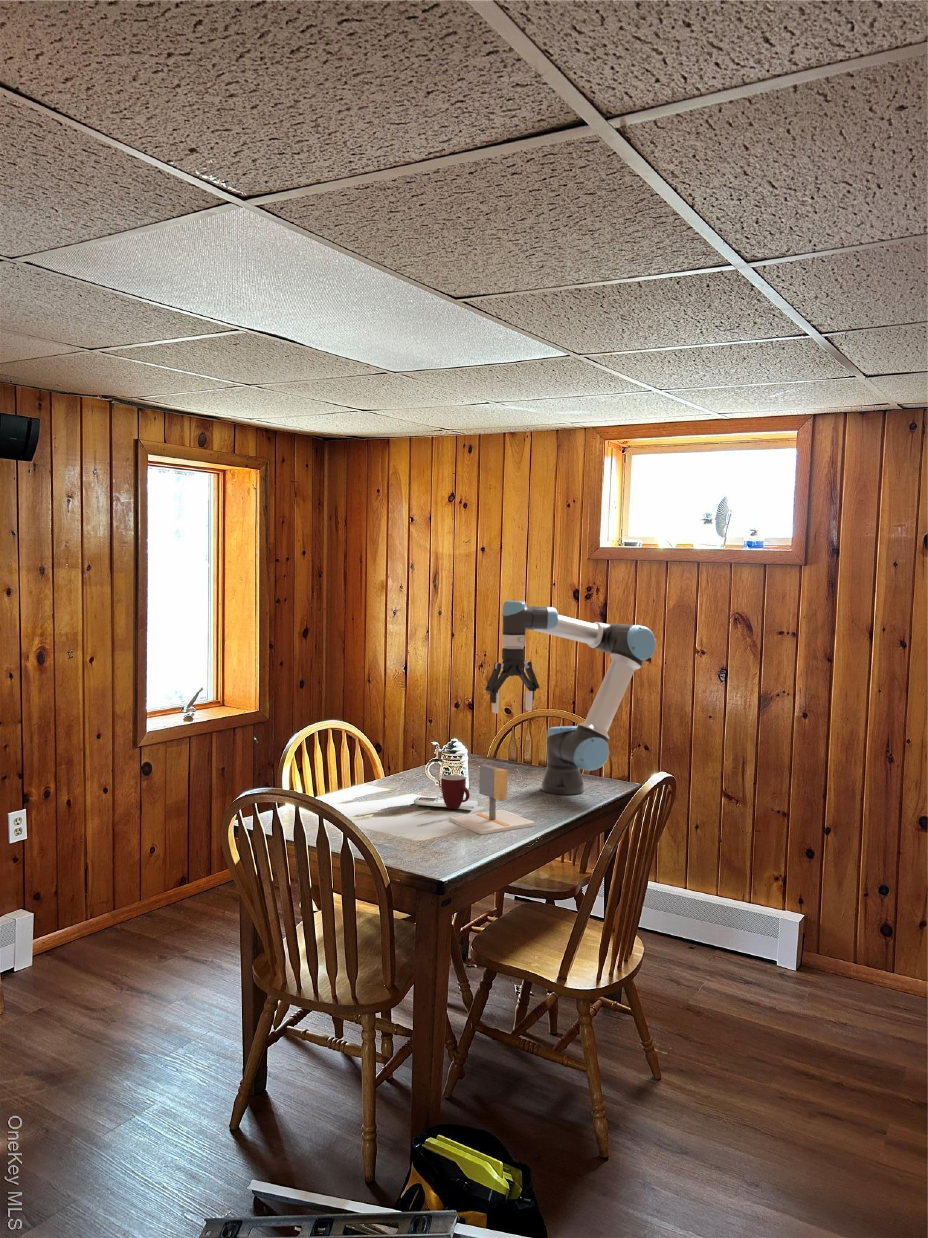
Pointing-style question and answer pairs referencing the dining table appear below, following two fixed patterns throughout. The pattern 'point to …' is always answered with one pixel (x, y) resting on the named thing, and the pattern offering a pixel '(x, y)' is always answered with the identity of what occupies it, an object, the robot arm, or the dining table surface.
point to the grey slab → (493, 782)
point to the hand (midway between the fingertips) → (512, 711)
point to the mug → (454, 790)
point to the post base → (492, 820)
